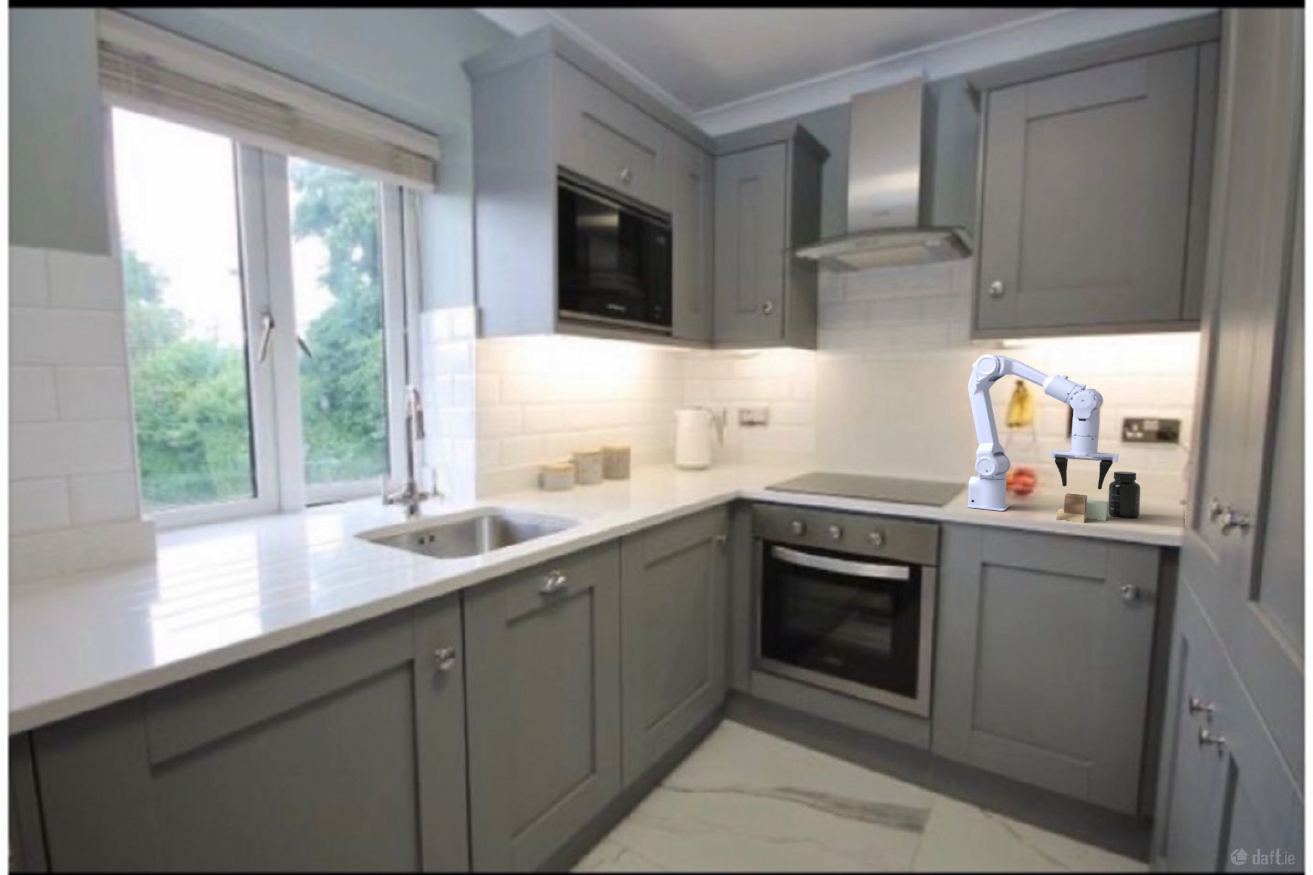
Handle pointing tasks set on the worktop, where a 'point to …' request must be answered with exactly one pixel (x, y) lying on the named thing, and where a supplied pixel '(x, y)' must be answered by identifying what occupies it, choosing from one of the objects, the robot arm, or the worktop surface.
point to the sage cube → (1097, 510)
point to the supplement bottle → (1124, 496)
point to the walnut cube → (1075, 504)
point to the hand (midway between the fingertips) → (1081, 487)
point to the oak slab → (1070, 516)
